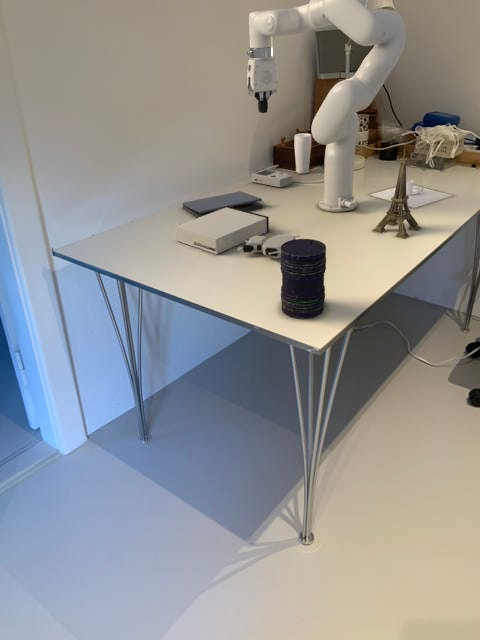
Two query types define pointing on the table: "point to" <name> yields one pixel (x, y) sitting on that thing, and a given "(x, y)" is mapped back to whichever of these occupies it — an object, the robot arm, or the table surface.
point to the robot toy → (266, 245)
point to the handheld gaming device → (272, 178)
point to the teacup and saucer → (414, 195)
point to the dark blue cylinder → (303, 278)
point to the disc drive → (222, 229)
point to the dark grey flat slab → (242, 207)
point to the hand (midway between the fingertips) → (263, 112)
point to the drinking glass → (302, 152)
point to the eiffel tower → (399, 201)
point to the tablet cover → (221, 201)
